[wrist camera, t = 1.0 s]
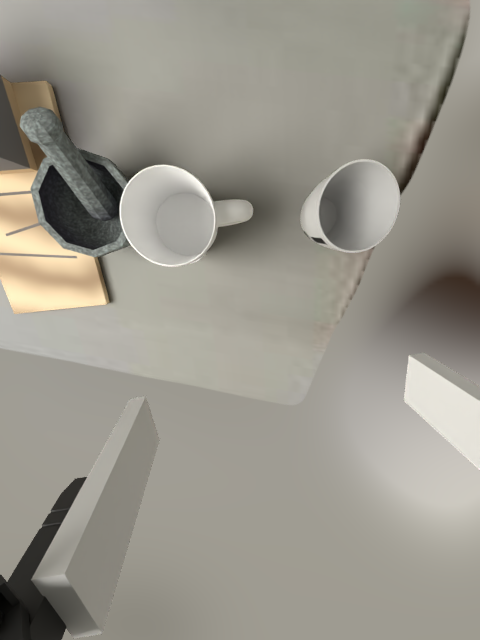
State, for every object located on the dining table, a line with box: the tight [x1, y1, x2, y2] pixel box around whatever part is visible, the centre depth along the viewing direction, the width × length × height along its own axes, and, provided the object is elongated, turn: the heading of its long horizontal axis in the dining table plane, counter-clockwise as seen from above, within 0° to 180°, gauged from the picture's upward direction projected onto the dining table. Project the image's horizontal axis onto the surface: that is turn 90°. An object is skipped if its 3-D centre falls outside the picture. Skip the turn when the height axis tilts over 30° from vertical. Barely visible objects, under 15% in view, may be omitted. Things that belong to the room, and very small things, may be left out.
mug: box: [120, 164, 253, 267], centre depth 26 cm, size 8×12×12 cm
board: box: [0, 81, 110, 314], centre depth 30 cm, size 24×12×1 cm, turn 5°
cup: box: [300, 159, 400, 253], centre depth 28 cm, size 8×8×10 cm
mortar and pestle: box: [20, 107, 130, 257], centre depth 25 cm, size 11×9×12 cm
